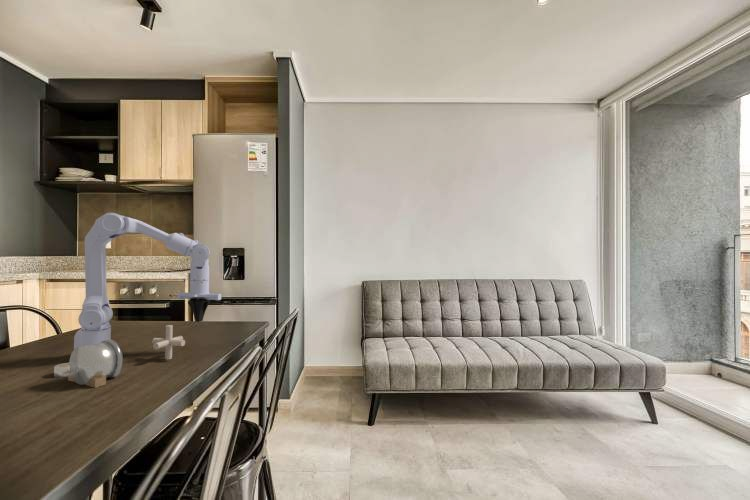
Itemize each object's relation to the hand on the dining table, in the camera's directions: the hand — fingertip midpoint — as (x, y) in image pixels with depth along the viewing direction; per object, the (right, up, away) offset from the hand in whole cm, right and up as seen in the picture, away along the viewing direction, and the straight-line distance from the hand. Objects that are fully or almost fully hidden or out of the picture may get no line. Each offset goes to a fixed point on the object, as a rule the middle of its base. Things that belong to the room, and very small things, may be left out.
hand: (199, 321), depth 122 cm
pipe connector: (-4, -10, -10) cm, 15 cm away
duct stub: (-12, -9, -29) cm, 33 cm away
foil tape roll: (-23, -9, -25) cm, 35 cm away
